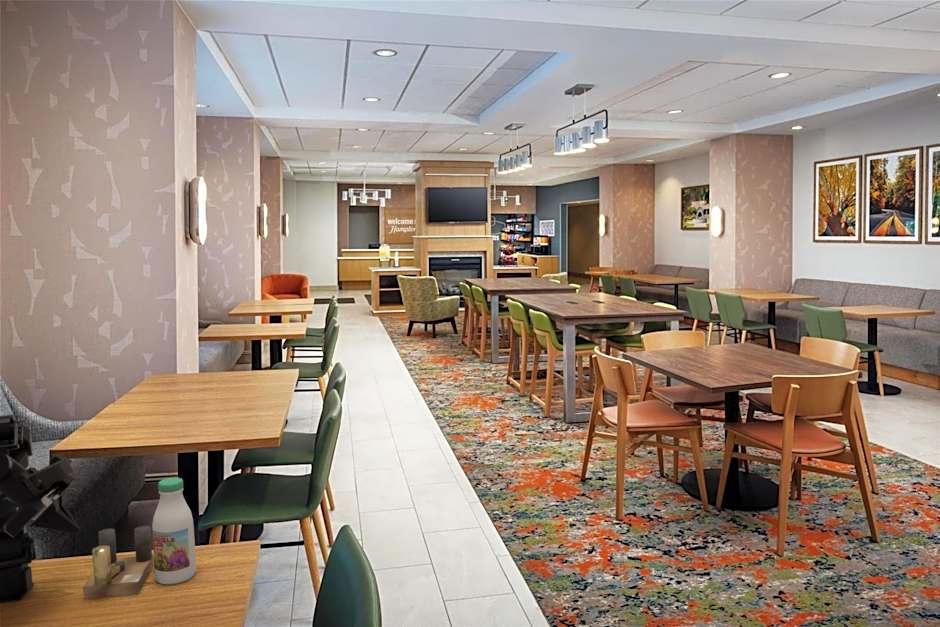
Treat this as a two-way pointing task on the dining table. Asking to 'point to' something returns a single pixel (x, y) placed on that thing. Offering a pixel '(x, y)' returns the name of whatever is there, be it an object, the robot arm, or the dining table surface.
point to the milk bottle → (173, 535)
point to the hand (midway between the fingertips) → (77, 531)
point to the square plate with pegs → (124, 566)
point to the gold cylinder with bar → (103, 565)
